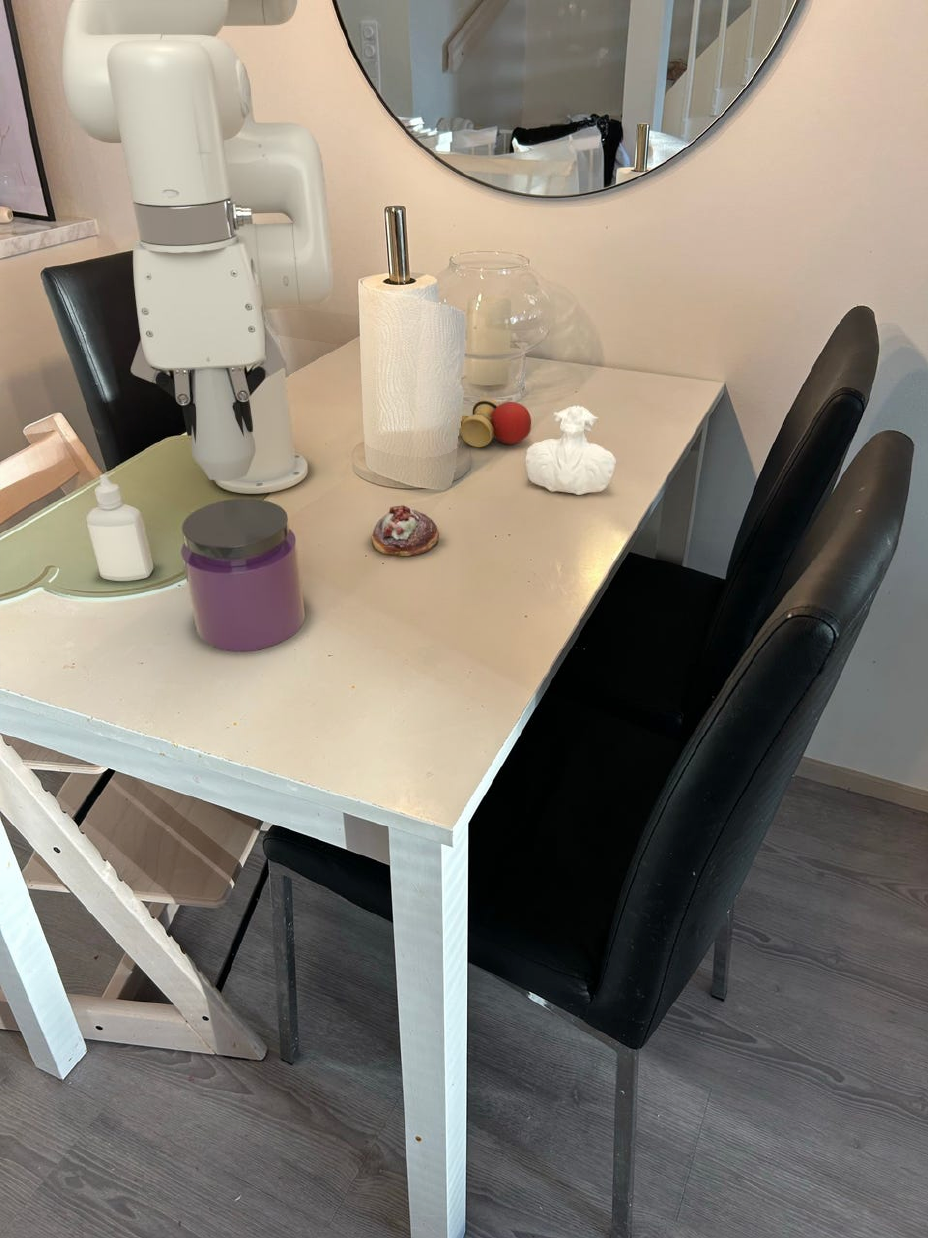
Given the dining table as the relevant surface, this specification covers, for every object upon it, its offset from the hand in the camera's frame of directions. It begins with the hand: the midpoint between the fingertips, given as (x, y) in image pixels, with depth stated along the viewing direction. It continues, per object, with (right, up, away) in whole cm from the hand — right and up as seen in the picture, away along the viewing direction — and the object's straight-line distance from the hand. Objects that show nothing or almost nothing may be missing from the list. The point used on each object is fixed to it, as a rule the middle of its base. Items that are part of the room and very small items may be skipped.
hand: (221, 438), depth 82 cm
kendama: (+23, +10, +51) cm, 57 cm away
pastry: (+15, -7, +25) cm, 30 cm away
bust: (+36, +1, +38) cm, 52 cm away
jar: (0, -17, +11) cm, 20 cm away
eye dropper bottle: (-16, -12, +19) cm, 27 cm away
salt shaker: (0, -3, +2) cm, 3 cm away
